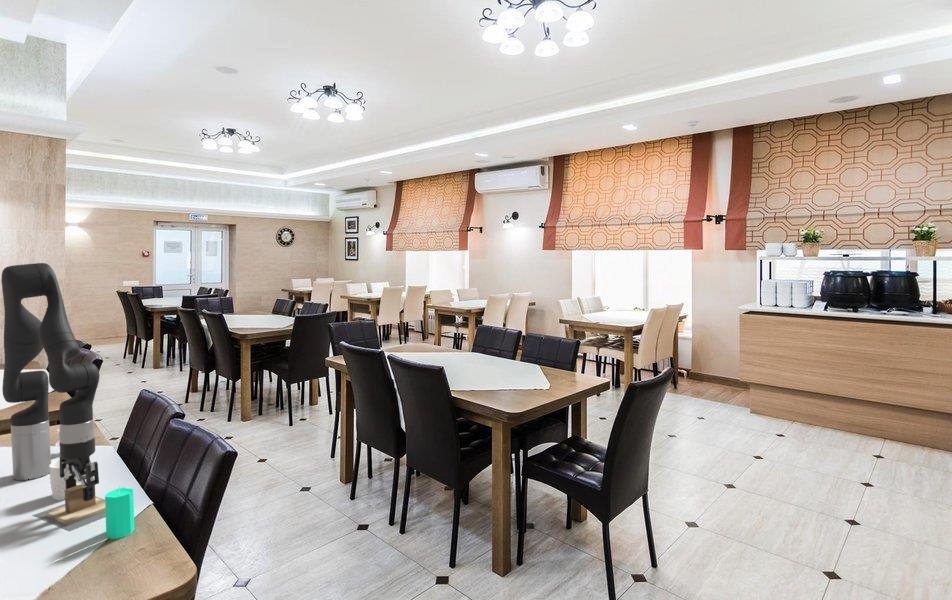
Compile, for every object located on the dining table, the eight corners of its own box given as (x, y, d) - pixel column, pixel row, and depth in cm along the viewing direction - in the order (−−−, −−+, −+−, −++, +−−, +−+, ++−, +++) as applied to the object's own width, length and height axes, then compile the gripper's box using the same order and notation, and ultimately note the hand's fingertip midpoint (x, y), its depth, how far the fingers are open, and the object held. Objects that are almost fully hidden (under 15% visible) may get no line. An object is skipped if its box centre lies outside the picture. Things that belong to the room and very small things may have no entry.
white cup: (63, 490, 154) (61, 457, 153) (91, 490, 154) (89, 457, 154) (43, 502, 146) (41, 468, 145) (72, 502, 146) (71, 467, 146)
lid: (46, 515, 137) (45, 490, 137) (92, 499, 147) (91, 475, 147) (68, 525, 132) (67, 498, 132) (114, 507, 142) (113, 482, 142)
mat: (32, 517, 137) (32, 515, 137) (90, 496, 150) (90, 494, 150) (69, 533, 129) (69, 531, 129) (127, 509, 142) (127, 508, 142)
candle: (120, 540, 126) (118, 492, 126) (99, 537, 128) (98, 490, 127) (140, 528, 132) (139, 482, 132) (121, 525, 134) (119, 480, 133)
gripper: (46, 437, 138) (49, 497, 139) (76, 446, 132) (78, 508, 133) (78, 430, 145) (81, 486, 146) (107, 437, 138) (110, 496, 139)
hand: (79, 496), depth 139 cm, fingers open, 8 cm apart
